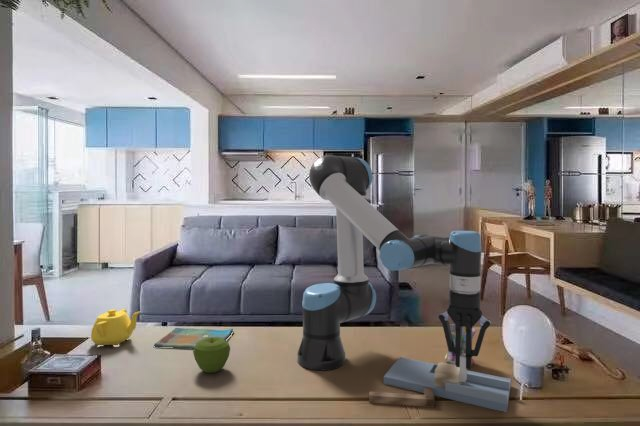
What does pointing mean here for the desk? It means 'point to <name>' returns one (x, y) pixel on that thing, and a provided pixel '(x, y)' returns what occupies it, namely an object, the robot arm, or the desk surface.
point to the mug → (451, 356)
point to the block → (447, 374)
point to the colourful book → (190, 337)
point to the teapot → (113, 327)
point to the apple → (211, 354)
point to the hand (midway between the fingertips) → (463, 379)
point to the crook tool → (404, 398)
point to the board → (451, 384)
